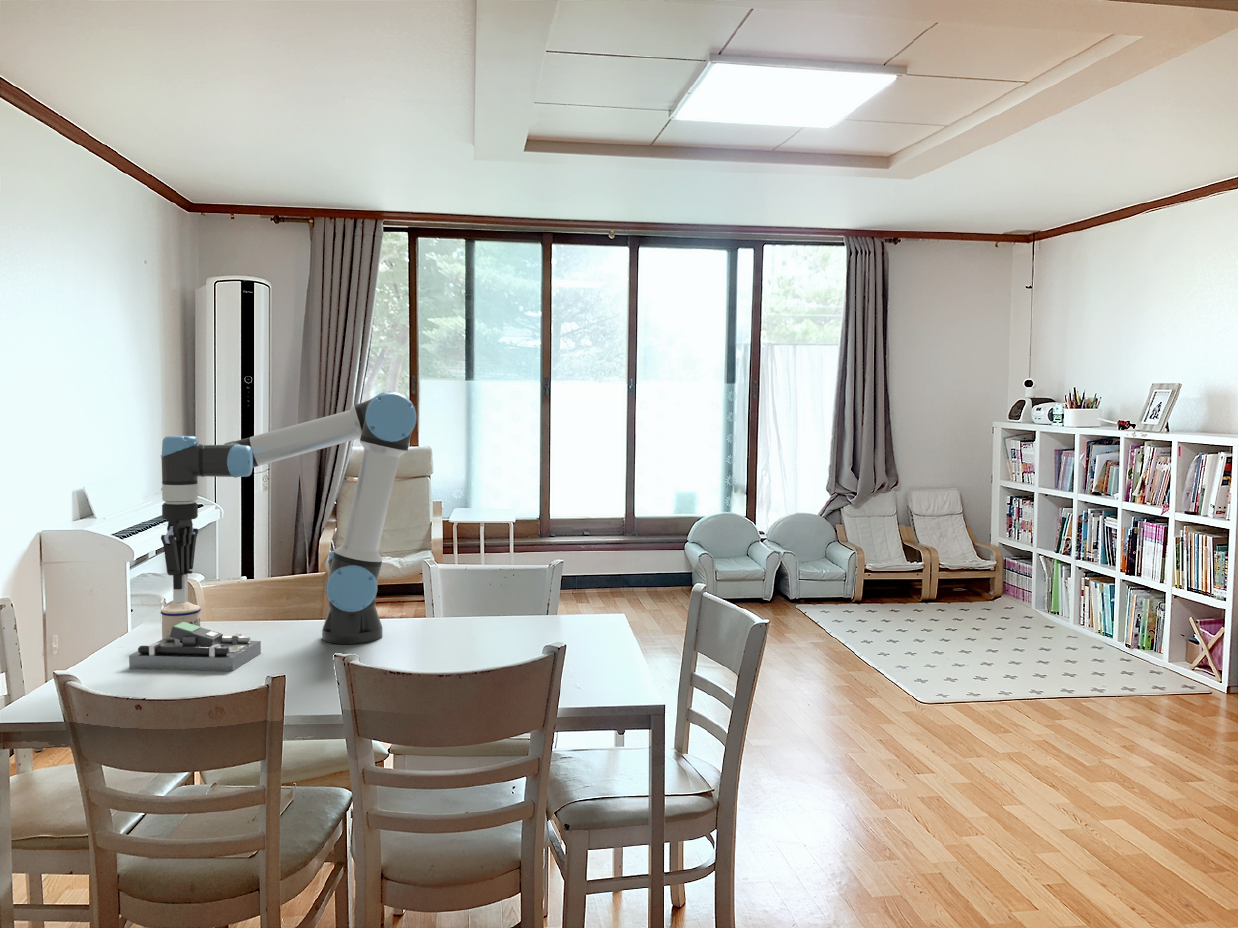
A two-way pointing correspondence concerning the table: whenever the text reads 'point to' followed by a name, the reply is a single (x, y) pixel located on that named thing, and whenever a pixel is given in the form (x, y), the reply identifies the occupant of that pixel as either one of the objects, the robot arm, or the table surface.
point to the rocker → (196, 634)
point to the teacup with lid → (179, 616)
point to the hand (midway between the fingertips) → (180, 602)
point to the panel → (196, 659)
